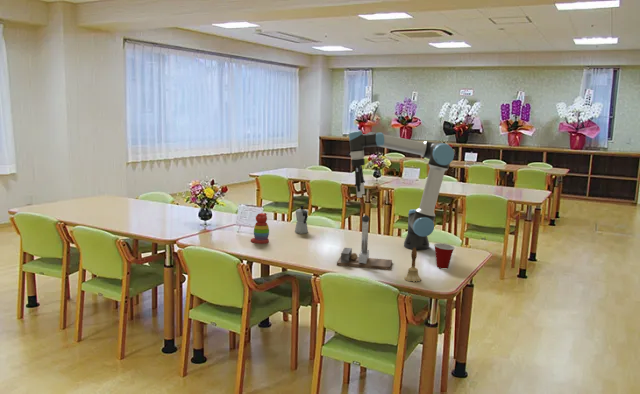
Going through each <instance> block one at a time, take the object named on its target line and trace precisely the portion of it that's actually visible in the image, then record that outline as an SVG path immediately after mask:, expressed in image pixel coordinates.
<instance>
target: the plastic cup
mask: <svg viewBox="0 0 640 394" xmlns="http://www.w3.org/2000/svg"><path fill="white" fill-rule="evenodd" d="M433 246H434V251H435V253H434V254H435V261H436V268H438V267H439V268H438V269H441V268H447V269H449V266H450V262H451V258H452V254H453V251H454V250H455V248H456V247H455V246H453V245H451V244H447V243H441V242H438V243H434V244H433Z"/></svg>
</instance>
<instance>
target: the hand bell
mask: <svg viewBox="0 0 640 394" xmlns="http://www.w3.org/2000/svg"><path fill="white" fill-rule="evenodd" d="M417 256H418V253H417V250H416V248H413V249H411V267H409V268H408V270H407V274H406V275H405V277H404V278H403V280H404V279H405V281H406V280H407V281H406V282H409V281H413V282H412V283H418V282H417V281H419V282H421V281H422V278H421V277H420V275H419V270H418V268H417V267H416V259H417ZM420 280H421V281H420ZM415 281H416V282H415Z"/></svg>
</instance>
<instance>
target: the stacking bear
mask: <svg viewBox="0 0 640 394" xmlns="http://www.w3.org/2000/svg"><path fill="white" fill-rule="evenodd" d="M255 220H256V222H255V224H254V227H253V236H254V237H252V238H250V242H251V243H254V244H260V245H263V244H268V243H270V241H269V235H270V227H269V224H268V222H267V221H268V216H267V213H265V212H264V213H263V212H262V213H258V214H256V216H255Z"/></svg>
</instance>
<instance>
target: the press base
mask: <svg viewBox="0 0 640 394" xmlns="http://www.w3.org/2000/svg"><path fill="white" fill-rule="evenodd" d="M392 263H393V260H392V259H386V258H385V259H384V258H376V257H375V258H373V257H369V259H368V261H367V263H366V264H364V263H359V255H358V254H357V253H356V252H353V248H352V247H344V248H343V250H342V251H341V253H340V257H339V258H338V260H337V261H336V266H340V267H342V266H343V267H354V268H365V269H374V270H375V269H376V270H386V271H387V270H388V271H390V270H391V268H392Z"/></svg>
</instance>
